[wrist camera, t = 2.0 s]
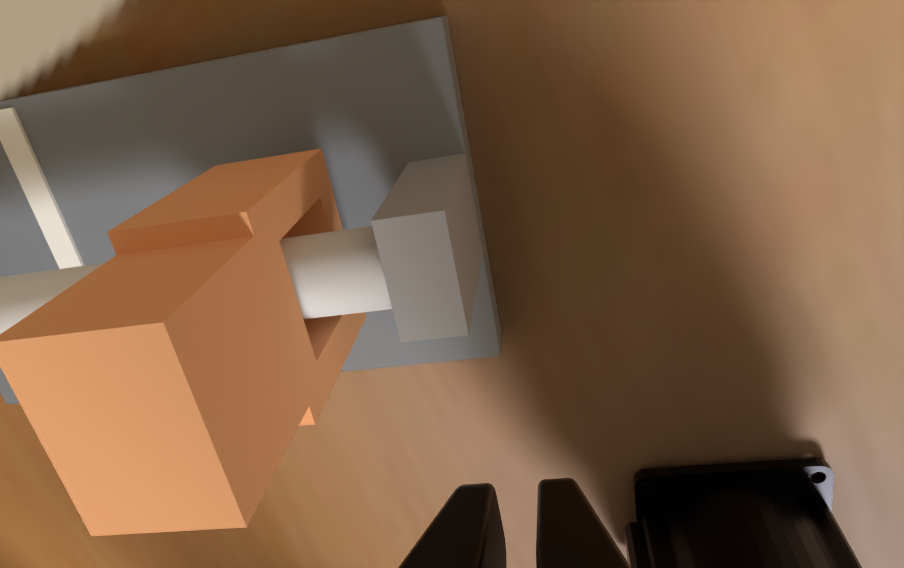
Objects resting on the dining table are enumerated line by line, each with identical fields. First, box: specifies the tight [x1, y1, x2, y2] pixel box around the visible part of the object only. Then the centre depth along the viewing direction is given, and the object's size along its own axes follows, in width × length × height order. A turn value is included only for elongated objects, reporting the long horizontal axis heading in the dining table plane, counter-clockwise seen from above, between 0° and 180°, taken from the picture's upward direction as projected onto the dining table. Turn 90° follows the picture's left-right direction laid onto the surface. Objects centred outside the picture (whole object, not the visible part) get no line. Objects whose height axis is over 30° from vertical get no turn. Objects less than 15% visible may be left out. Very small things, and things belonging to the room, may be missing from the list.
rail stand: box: [0, 15, 502, 404], centre depth 18 cm, size 18×10×6 cm, turn 101°
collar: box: [0, 148, 366, 536], centre depth 14 cm, size 3×5×8 cm, turn 11°
